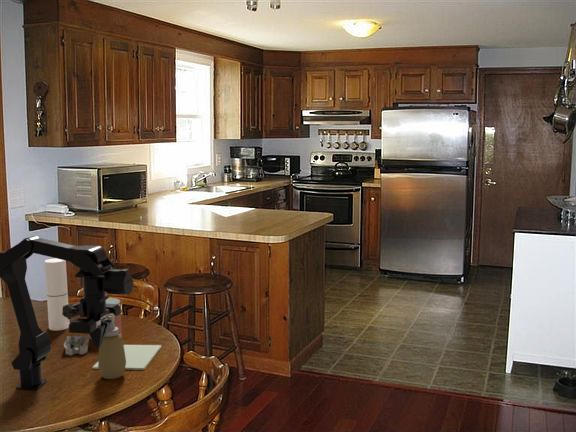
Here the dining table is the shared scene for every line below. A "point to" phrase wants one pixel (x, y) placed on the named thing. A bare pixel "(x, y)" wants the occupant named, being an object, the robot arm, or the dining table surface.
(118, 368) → the tan nozzle bottle
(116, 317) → the canned food
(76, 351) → the egg carton
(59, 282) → the cylindrical container
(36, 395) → the dining table surface
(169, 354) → the dining table surface
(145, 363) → the mat
